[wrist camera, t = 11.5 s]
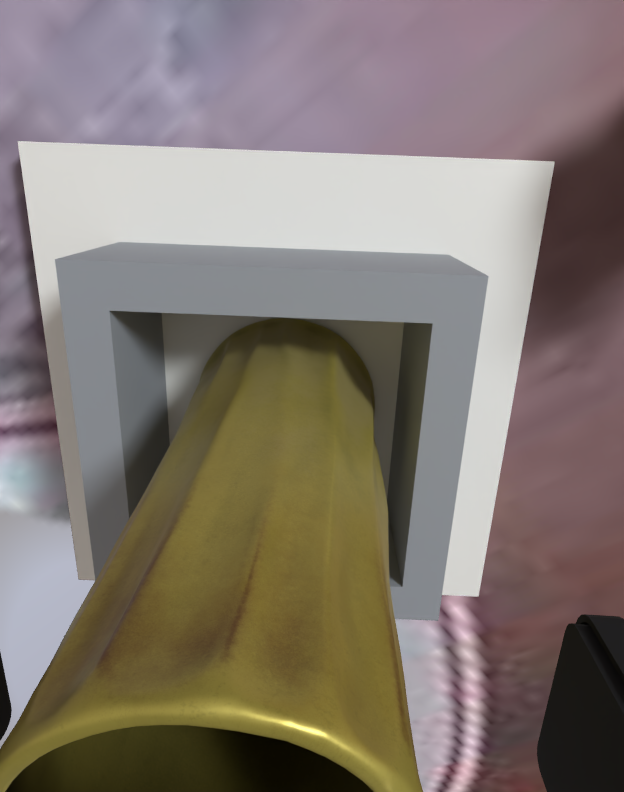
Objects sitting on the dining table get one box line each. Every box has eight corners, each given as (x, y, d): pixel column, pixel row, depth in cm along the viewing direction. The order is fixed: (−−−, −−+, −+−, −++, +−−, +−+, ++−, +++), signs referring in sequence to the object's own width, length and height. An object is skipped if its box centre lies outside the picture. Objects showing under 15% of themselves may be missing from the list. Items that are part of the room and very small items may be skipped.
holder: (542, 162, 17) (634, 152, 12) (472, 579, 23) (514, 693, 18) (34, 143, 17) (-87, 125, 12) (88, 563, 23) (21, 671, 18)
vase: (267, 507, 21) (167, 1080, 7) (162, 380, 19) (-210, 827, 6) (407, 424, 20) (588, 938, 6) (307, 279, 18) (260, 556, 4)
